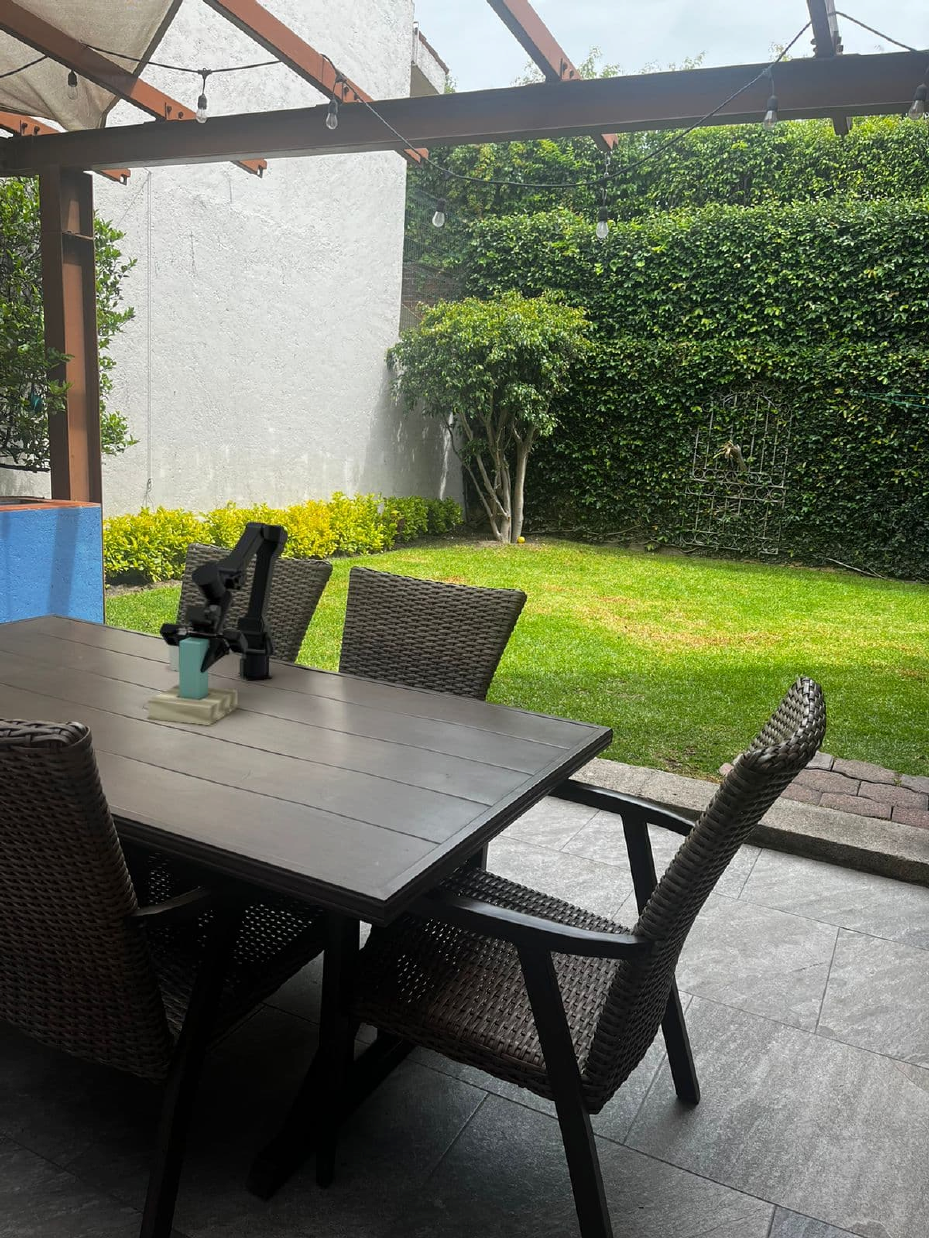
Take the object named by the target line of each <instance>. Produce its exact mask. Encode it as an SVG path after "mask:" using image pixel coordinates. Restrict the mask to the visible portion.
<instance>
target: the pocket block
mask: <svg viewBox="0 0 929 1238" xmlns="http://www.w3.org/2000/svg"><path fill="white" fill-rule="evenodd" d="M236 707H237V708H238V690H235V689H233V690H232V689H226V688H217V687H216V688H215V687H210V686H208V696H207V697H205V698H203V699H201V700H194V699H186V698H179V684H176V685H174V686H172V687H170V688H169V689H166V690H164V691H163V692H160V693H159V694H157V695H155V696H152V697H151V698H148V699H147V719H152V720H159V721H166V720H167V721H168V722H169V721H170V722H174V721H176V722H175V723H182V722H188V723H187V724H190V723H196V724H195V725H198V724H203V725H202V726H205V725H210V724H211V723H213V722H215V721H216V720H217V719H219V718H221V717H222V716H223V715H225V716H227V715H228V714H229V713H228V712H230V711H231V710H233V709H234V708H236ZM237 708H236V709H237ZM233 711H234V710H233ZM227 713H228V714H227ZM230 713H231V712H230ZM226 714H227V715H226ZM222 718H223V717H222ZM222 718H221V719H222ZM219 720H220V719H219ZM216 722H217V721H216ZM216 722H215V723H216ZM213 724H214V723H213ZM211 725H212V724H211ZM211 725H210V726H211Z"/></svg>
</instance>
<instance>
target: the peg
mask: <svg viewBox="0 0 929 1238" xmlns="http://www.w3.org/2000/svg"><path fill="white" fill-rule="evenodd" d="M209 644H210V643H209V639H200V638H191V637H189V638H187V639H185V640H182V641H180V666H179V671H178V672H179V674H178V675H179V678H178V679H179V698H186V699H194V700H201V699H203V698H205V697H207V696H208V687H209V668H208V669H207V670H206V671H205V672H204V673H201V671H200V669H201V666H202V663H203V661H204V658H205V656H206V654H207V651H208V649H209Z"/></svg>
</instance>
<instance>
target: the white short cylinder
mask: <svg viewBox="0 0 929 1238" xmlns="http://www.w3.org/2000/svg"><path fill="white" fill-rule="evenodd" d="M167 646H168V647H167V648H168V658H169V666H170V668H171V669H172V670H171V669H170V670H171V671H173V670H177V671H176V672H179V647H178V646H170V645H168V644H167Z"/></svg>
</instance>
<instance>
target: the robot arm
mask: <svg viewBox="0 0 929 1238" xmlns="http://www.w3.org/2000/svg"><path fill="white" fill-rule="evenodd" d="M288 539H289V532H288V531H287V530H286V529H285V527H284V525H278V524H267V523H265V522H259V521H249V522H247V523H245V527H244V530H243V533H242V534H241V535H240V537H239V539H238V541H237V542H236V544H235V545H234V547H233V548H232V550H231V552H230V553H229V554H228V555H227V556H225V557H224V558H220V559H219V560H218V561H217V562H216V561H211V560H206V561H205V563H204V564H202V565H199V566H198V567H197V568H195V569H194V570H193V571H192V573H191V580H192V582H193V584H194V586H195V588H196V589H197V592H198V593H199V595H200V596H201V597H202V598H203V599H204V601H203V605H201V606H199V605H190V604H187V605H186V608H185V613H184V618H183V620H184V621H187V622H189V623H188V625H189V628H190V629H192V631H191V630H188V629H187V628H183V625H181V623H177V622H176V623H174V622H164V623H163V624H162V625H161V626H160V628H159V631H158V632H159V634H160V635H161V637H162V639H163V640H164V642H165V644H167V646H168V645H170V646H178V647H179V666H180V641H182V640H185V639H187V638H189V637H191V638H200V639H209V649H208V651H207V654H206V656H205V658H204V661H203V663H202V666H201V669H200V671H201V673H204V672H205V671H206V670H207V669H208V670H209V669H210V668H211V667H212V666H213V665H214V664H216V663H217V662H218V661H219V660H221V659H222V658H224V657H225V656H230V654H231V652H232V653H233V654H241V658H239V667H238V668H239V672H238V675H239V674H240V675H241V676H240V675H239V676H240V677H242V676H243V677H242V678H244V679H245V678H246V679H245V680H247V679H248V680H247V681H252V680H251V679H256V680H259V679H258V678H266V679H272V678H271V677H273V675H271V674H270V656H274V655H275V653H276V646H277V644H276V642H275V639H274V638H273V636H272V634H271V633H272V632H271V629H272V627H271V625H270V622H269V620H268V616H267V615H268V609H269V601H270V596H271V591H272V590H271V589H272V584H273V577H274V572H275V566H276V561H277V560H278V559H279V558H280V556H281V555H282V554H283V553H284V552H285V547H286V545H287V543H288ZM255 555H256V559H255V563H254V570H253V577H252V583H251V587H250V588H251V589H250V593H249V600H248V606H247V611H246V613H245V614H244V615H243V616H242V617H239V618H238V620H237V625H236V629H229V628H227V627H226V626H227V625H228V624H227V621H226V619H227V616H228V614H229V612H230V610H231V609H230V608H231V607H232V608H234V607H235V606H236V605H235V604H236V603H235V601H234V596H233V593H232V592H231V591H242V590H243V588H244V586H246V585H247V584H246V583H247V581H248V572H247V569H248V567H249V565H250V563H251V562H252V559H253V558H254V557H255ZM223 628H225V629H224V630H223V632H222V629H223ZM221 633H222V634H221ZM230 650H231V652H230Z"/></svg>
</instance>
